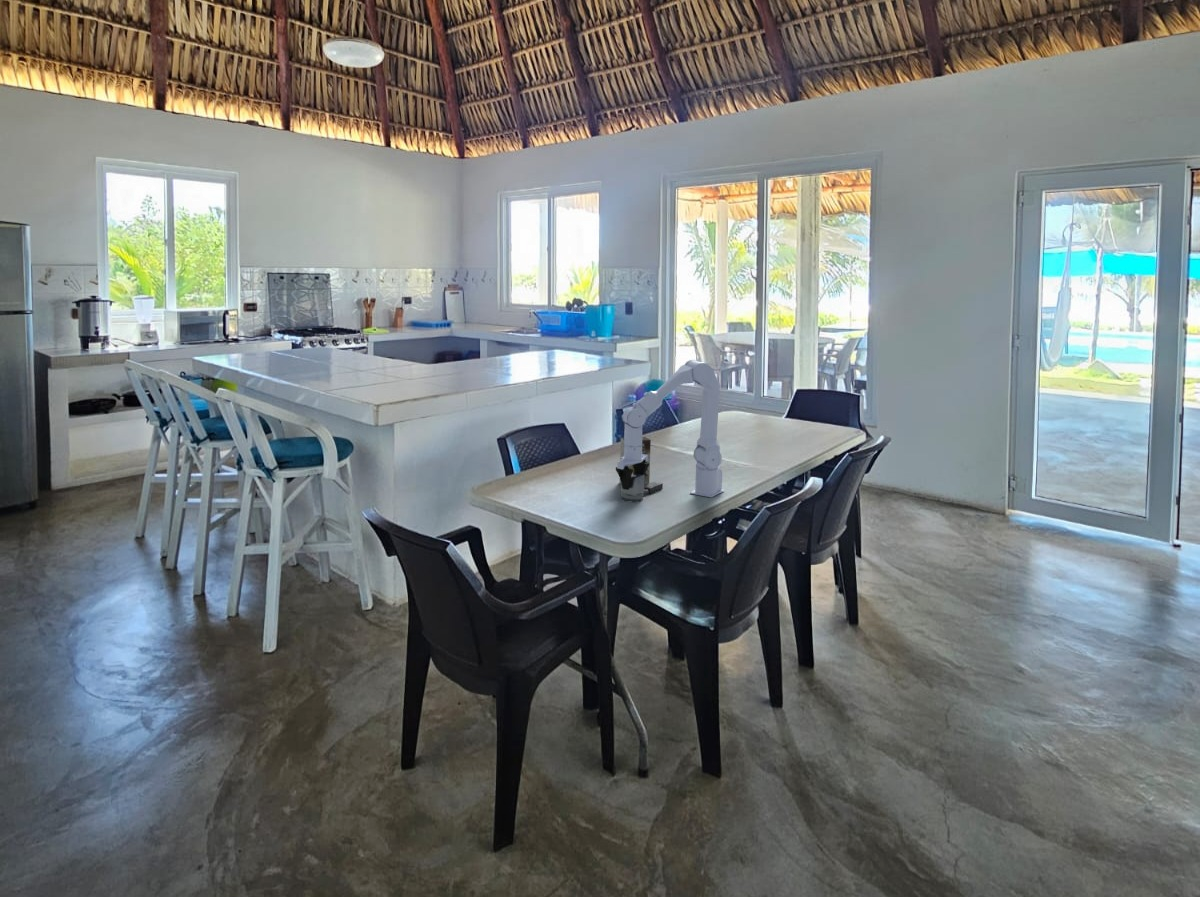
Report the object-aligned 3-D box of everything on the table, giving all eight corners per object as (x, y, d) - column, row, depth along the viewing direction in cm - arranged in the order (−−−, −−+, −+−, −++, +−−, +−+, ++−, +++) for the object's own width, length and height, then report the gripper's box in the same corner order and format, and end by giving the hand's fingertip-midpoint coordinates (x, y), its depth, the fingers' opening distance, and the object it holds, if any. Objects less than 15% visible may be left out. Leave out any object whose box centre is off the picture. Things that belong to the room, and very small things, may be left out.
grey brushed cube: (630, 489, 254) (630, 471, 253) (644, 492, 251) (644, 474, 250) (620, 493, 250) (621, 475, 249) (634, 496, 247) (635, 477, 246)
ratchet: (649, 486, 266) (649, 473, 265) (667, 489, 262) (667, 476, 261) (617, 499, 250) (617, 485, 249) (635, 503, 246) (635, 489, 245)
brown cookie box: (624, 487, 264) (625, 441, 260) (619, 482, 270) (619, 437, 266) (650, 485, 266) (651, 439, 263) (644, 480, 272) (645, 435, 269)
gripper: (635, 439, 255) (634, 479, 258) (609, 447, 244) (609, 489, 247) (653, 442, 251) (652, 483, 254) (628, 450, 240) (627, 493, 243)
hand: (632, 486), depth 250 cm, fingers open, 7 cm apart
